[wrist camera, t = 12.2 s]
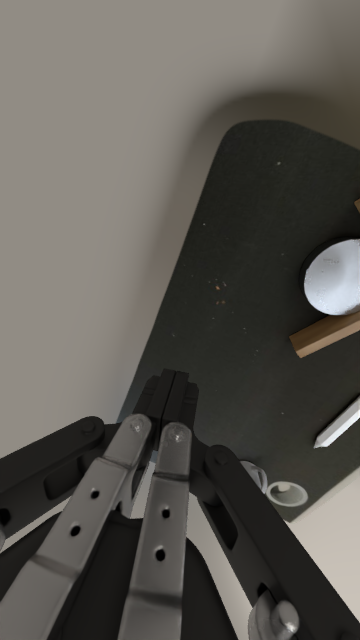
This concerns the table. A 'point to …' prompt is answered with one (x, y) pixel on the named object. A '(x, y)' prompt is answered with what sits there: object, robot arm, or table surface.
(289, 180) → the table surface
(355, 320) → the corner fence
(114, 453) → the robot arm
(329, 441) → the white pencil
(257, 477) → the cup
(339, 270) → the white-topped round disc
